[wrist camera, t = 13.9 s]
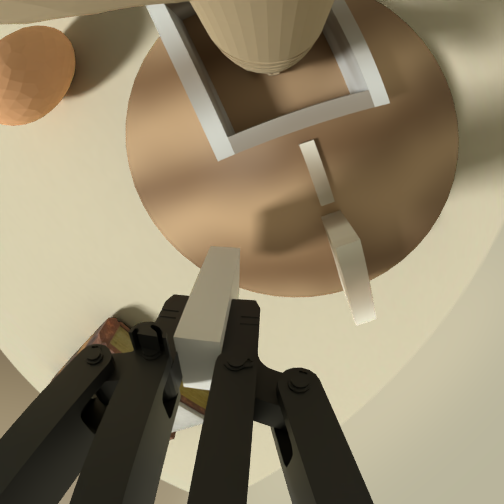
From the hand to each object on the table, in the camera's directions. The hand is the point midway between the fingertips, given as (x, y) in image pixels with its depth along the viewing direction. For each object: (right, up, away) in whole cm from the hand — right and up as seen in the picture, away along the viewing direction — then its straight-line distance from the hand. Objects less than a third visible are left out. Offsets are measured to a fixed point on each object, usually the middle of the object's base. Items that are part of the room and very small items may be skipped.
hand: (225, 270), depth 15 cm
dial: (+4, +8, +1) cm, 9 cm away
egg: (-14, +15, 0) cm, 20 cm away
